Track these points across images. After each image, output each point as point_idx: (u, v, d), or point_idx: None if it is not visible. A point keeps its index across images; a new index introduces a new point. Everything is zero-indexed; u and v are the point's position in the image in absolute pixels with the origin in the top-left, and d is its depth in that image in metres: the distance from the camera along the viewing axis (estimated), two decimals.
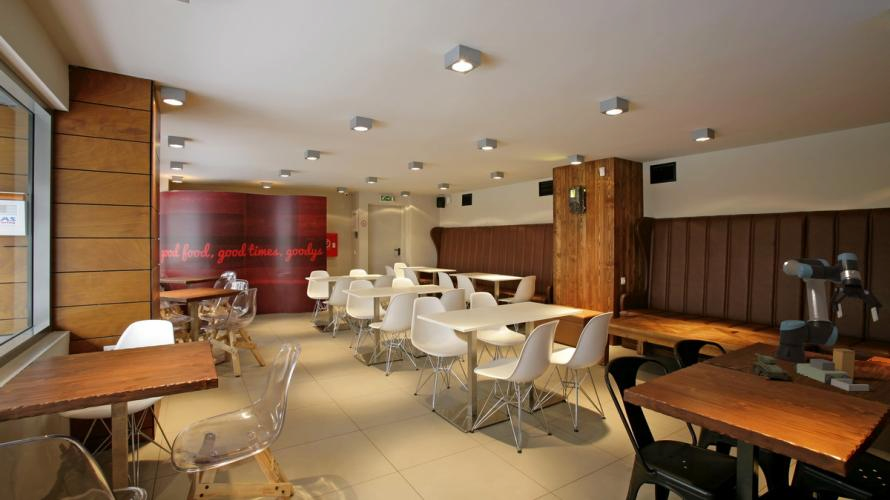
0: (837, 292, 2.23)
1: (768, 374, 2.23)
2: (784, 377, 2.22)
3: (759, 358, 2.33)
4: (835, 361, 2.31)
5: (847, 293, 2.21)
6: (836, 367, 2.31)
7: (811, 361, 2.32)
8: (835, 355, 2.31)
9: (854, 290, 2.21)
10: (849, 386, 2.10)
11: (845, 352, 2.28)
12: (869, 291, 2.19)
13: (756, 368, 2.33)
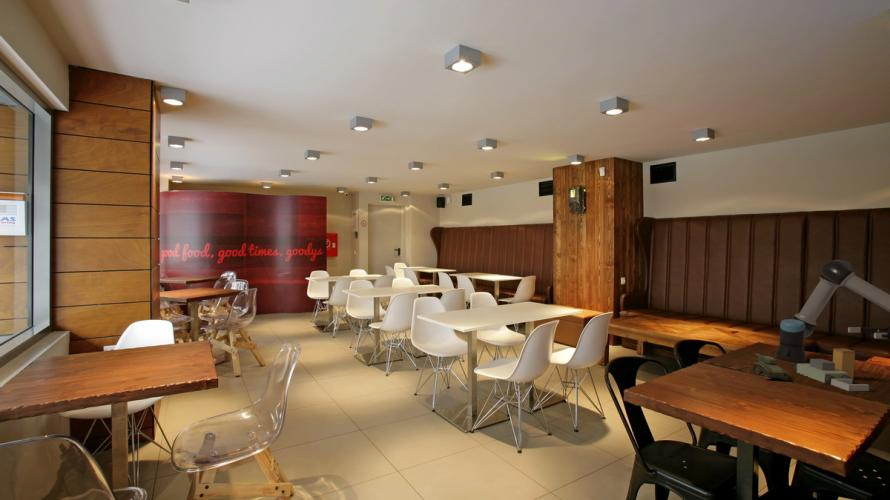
0: None
1: (768, 374, 2.23)
2: (784, 377, 2.22)
3: (759, 358, 2.33)
4: (835, 361, 2.31)
5: None
6: (836, 367, 2.31)
7: (811, 361, 2.32)
8: (835, 355, 2.31)
9: None
10: (849, 386, 2.10)
11: (845, 352, 2.28)
12: (876, 332, 2.37)
13: (756, 368, 2.33)
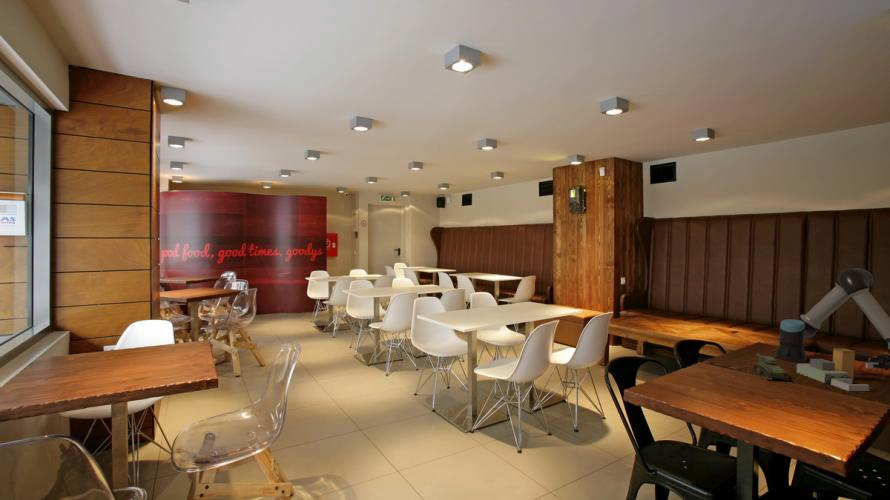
0: None
1: (769, 375, 2.22)
2: (785, 378, 2.21)
3: (760, 358, 2.32)
4: (835, 361, 2.31)
5: None
6: (836, 367, 2.31)
7: (811, 361, 2.32)
8: (835, 355, 2.31)
9: None
10: (849, 386, 2.10)
11: (845, 352, 2.28)
12: None
13: (757, 369, 2.32)
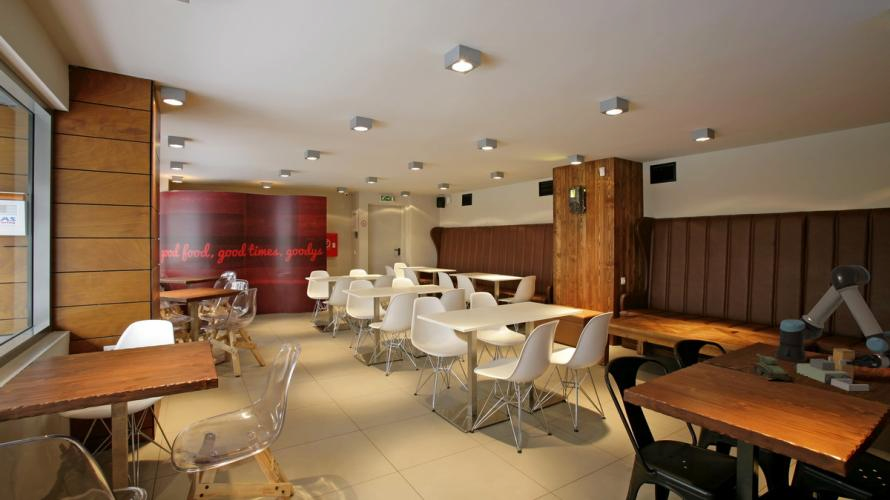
0: None
1: (770, 375, 2.22)
2: (786, 378, 2.21)
3: (761, 359, 2.31)
4: (835, 361, 2.31)
5: None
6: (836, 367, 2.31)
7: (811, 361, 2.32)
8: (835, 354, 2.31)
9: None
10: (849, 386, 2.10)
11: (845, 352, 2.28)
12: None
13: (758, 369, 2.32)
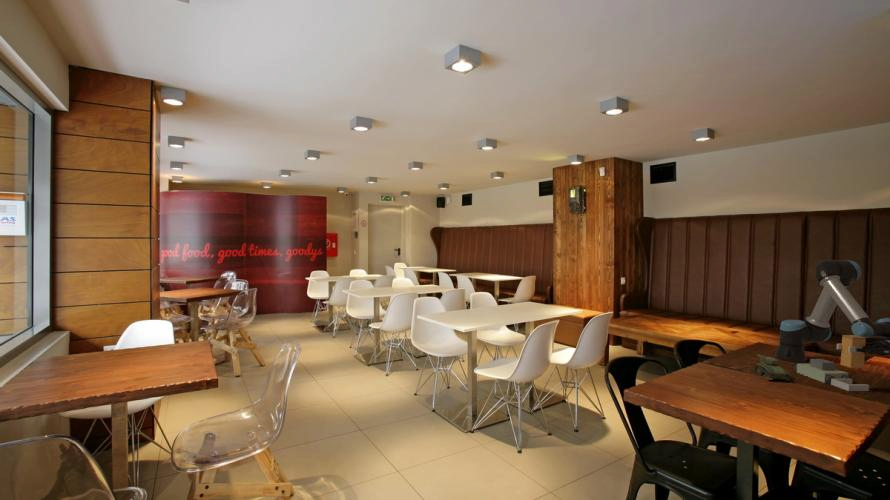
0: None
1: (770, 375, 2.21)
2: (786, 378, 2.20)
3: (761, 359, 2.31)
4: (844, 348, 2.15)
5: None
6: (845, 355, 2.14)
7: (811, 361, 2.32)
8: (844, 341, 2.15)
9: None
10: (849, 386, 2.10)
11: (855, 338, 2.11)
12: None
13: (758, 369, 2.31)
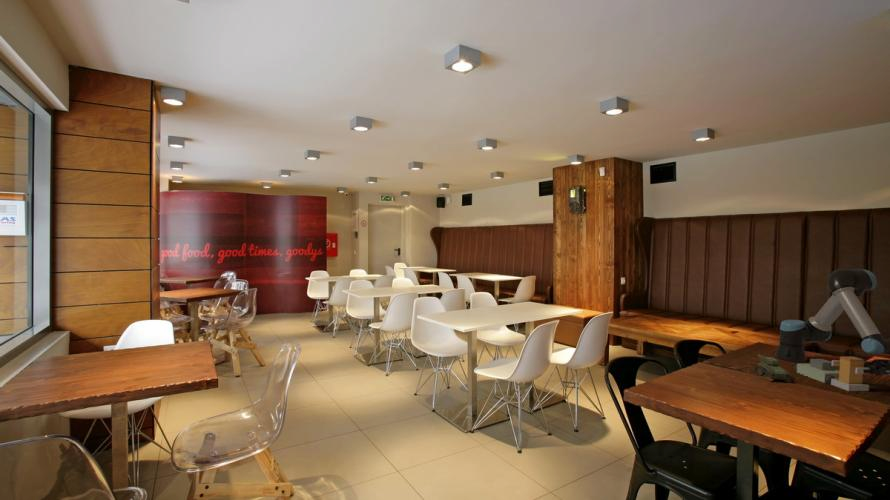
0: None
1: (771, 376, 2.21)
2: (787, 379, 2.20)
3: (762, 359, 2.30)
4: (842, 370, 2.15)
5: None
6: (843, 376, 2.15)
7: (811, 361, 2.32)
8: (842, 363, 2.15)
9: None
10: (849, 386, 2.10)
11: (853, 360, 2.12)
12: None
13: (759, 369, 2.31)
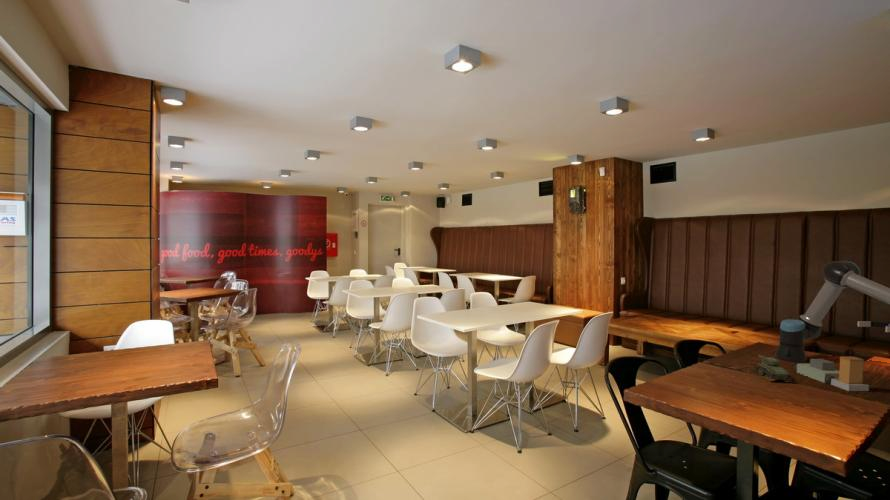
0: None
1: (772, 376, 2.20)
2: (788, 379, 2.19)
3: (762, 360, 2.30)
4: (842, 370, 2.15)
5: None
6: (843, 376, 2.15)
7: (811, 361, 2.32)
8: (842, 363, 2.15)
9: None
10: (849, 386, 2.10)
11: (853, 360, 2.12)
12: None
13: (759, 370, 2.30)
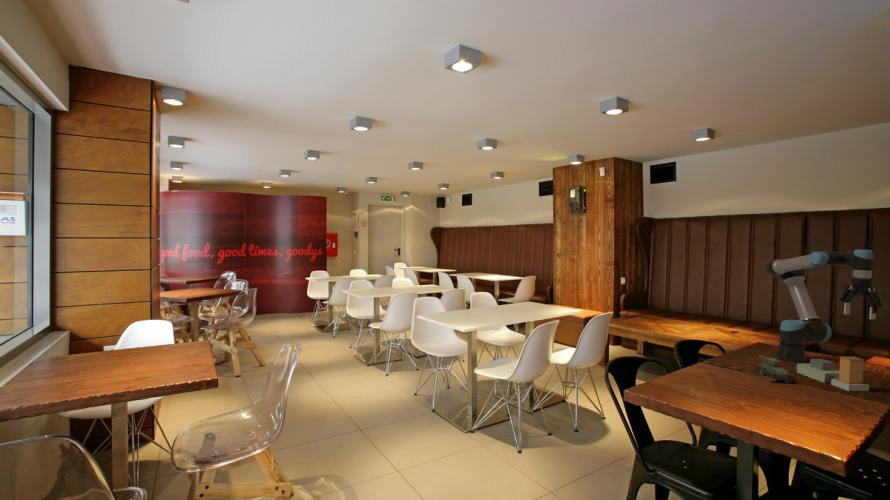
0: (846, 291, 2.43)
1: (773, 376, 2.20)
2: (789, 379, 2.19)
3: (763, 360, 2.29)
4: (842, 370, 2.15)
5: (852, 292, 2.39)
6: (843, 376, 2.15)
7: (811, 361, 2.32)
8: (842, 363, 2.15)
9: (859, 289, 2.36)
10: (849, 386, 2.10)
11: (853, 360, 2.12)
12: (870, 290, 2.30)
13: (760, 370, 2.29)
